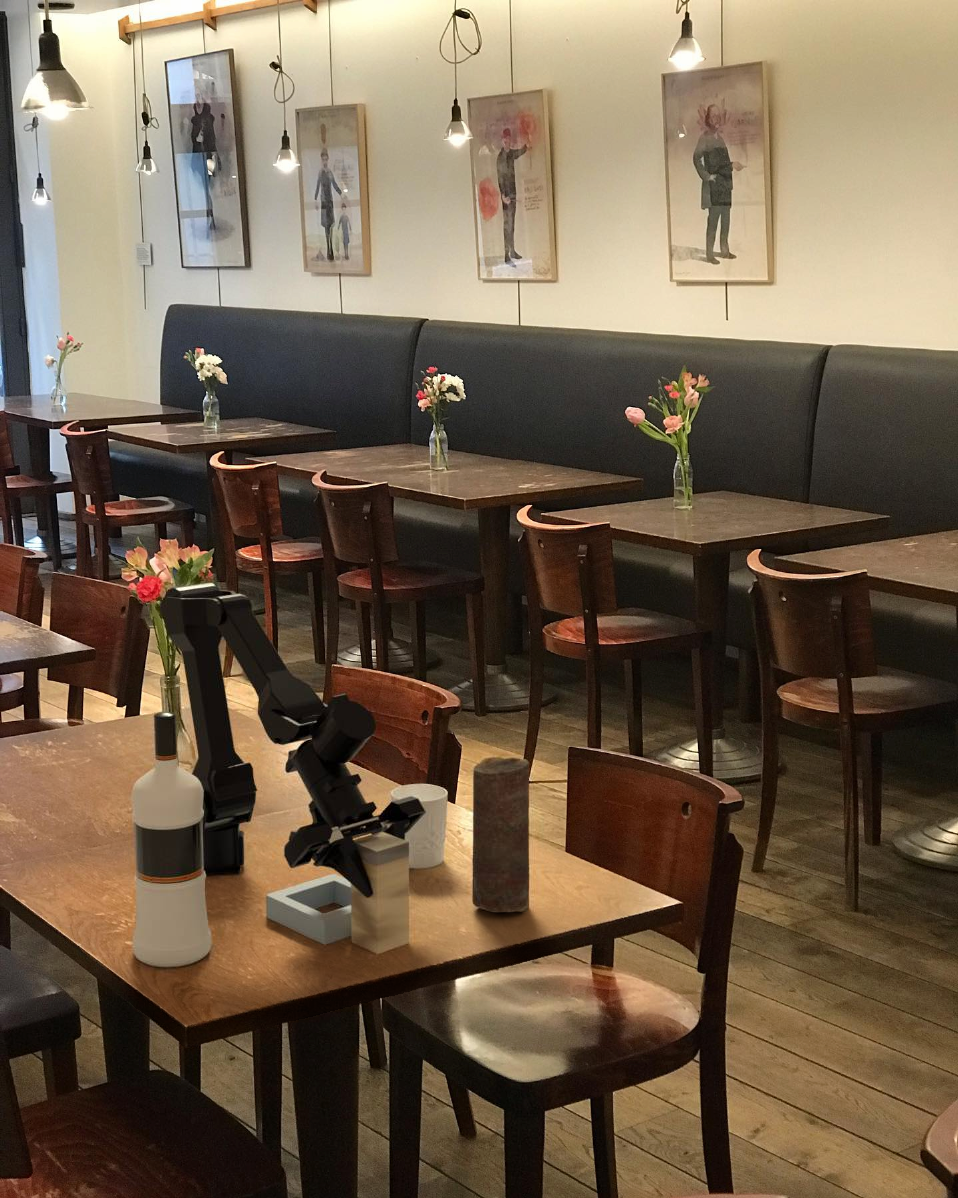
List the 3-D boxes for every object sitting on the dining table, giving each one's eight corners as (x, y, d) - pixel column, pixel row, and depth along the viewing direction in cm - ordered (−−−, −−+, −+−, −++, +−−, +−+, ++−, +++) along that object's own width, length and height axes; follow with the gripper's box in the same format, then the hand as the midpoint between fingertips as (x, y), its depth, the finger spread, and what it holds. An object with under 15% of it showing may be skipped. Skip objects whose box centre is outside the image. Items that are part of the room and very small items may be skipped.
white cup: (440, 872, 220) (440, 803, 218) (384, 868, 221) (384, 799, 219) (452, 853, 227) (453, 785, 225) (399, 849, 229) (398, 782, 227)
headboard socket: (266, 917, 204) (265, 894, 203) (334, 895, 211) (333, 873, 211) (324, 945, 195) (324, 921, 195) (393, 921, 203) (393, 898, 202)
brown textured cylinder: (509, 925, 202) (510, 772, 198) (460, 913, 205) (460, 763, 202) (539, 906, 208) (541, 757, 204) (491, 894, 212) (492, 749, 208)
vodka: (117, 956, 191) (107, 714, 186) (176, 932, 199) (168, 698, 193) (168, 977, 186) (160, 727, 180) (227, 952, 193) (221, 711, 187)
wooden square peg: (351, 942, 196) (350, 841, 194) (382, 931, 200) (382, 831, 197) (377, 954, 193) (376, 851, 190) (409, 943, 196) (408, 841, 193)
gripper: (358, 800, 211) (414, 902, 205) (242, 832, 198) (297, 942, 192) (397, 755, 204) (456, 859, 198) (279, 785, 191) (338, 898, 185)
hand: (387, 890), depth 194 cm, fingers closed on wooden square peg, 5 cm apart
